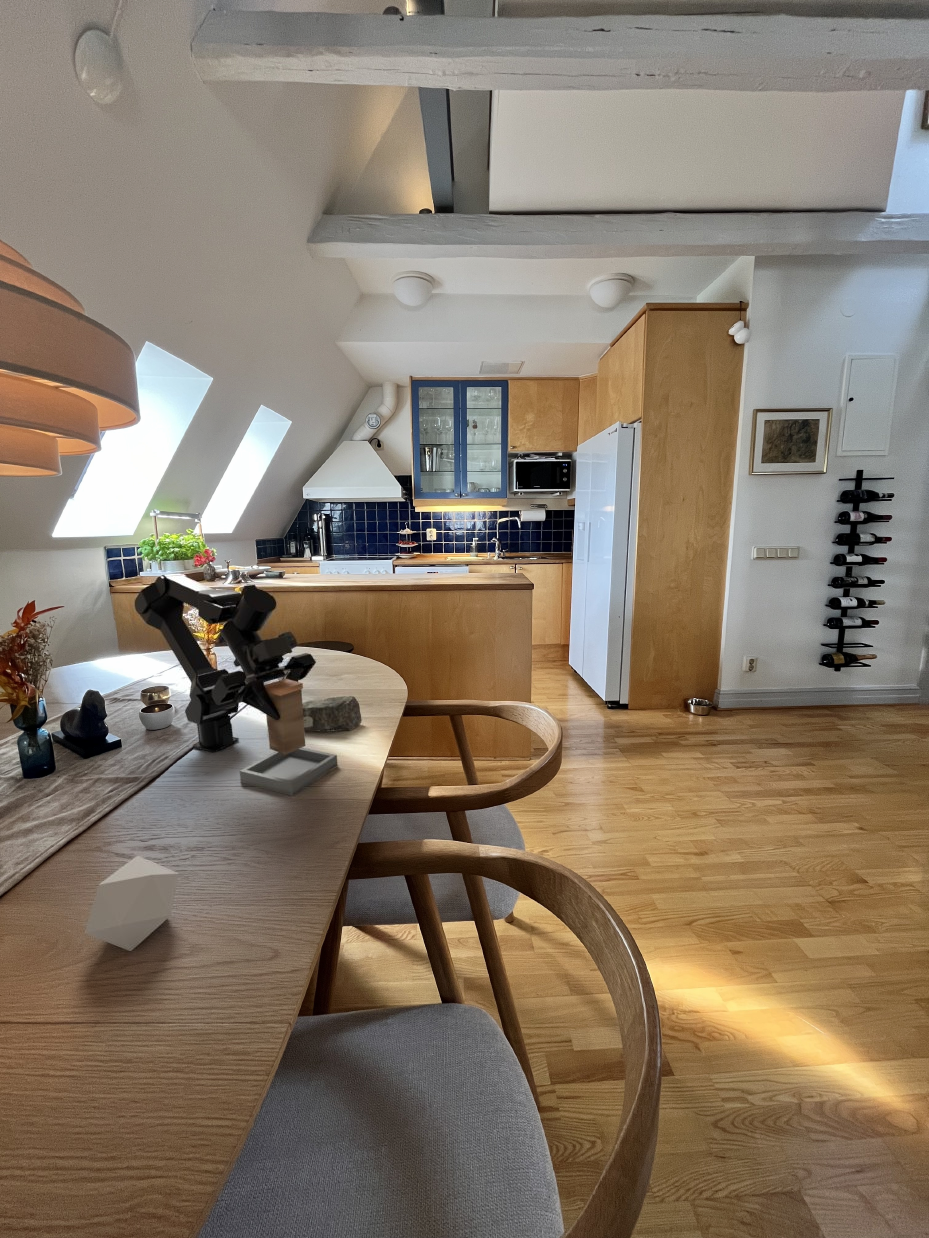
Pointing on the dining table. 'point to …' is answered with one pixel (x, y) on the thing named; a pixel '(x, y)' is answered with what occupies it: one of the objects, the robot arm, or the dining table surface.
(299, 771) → the tray
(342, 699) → the stone
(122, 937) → the die
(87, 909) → the dining table surface
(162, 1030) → the dining table surface
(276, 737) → the brown block
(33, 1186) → the dining table surface
